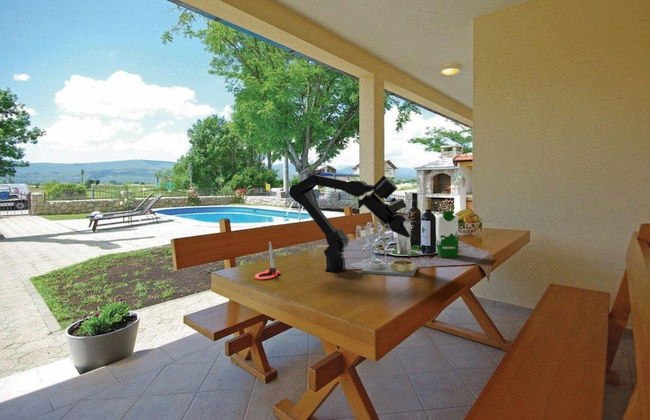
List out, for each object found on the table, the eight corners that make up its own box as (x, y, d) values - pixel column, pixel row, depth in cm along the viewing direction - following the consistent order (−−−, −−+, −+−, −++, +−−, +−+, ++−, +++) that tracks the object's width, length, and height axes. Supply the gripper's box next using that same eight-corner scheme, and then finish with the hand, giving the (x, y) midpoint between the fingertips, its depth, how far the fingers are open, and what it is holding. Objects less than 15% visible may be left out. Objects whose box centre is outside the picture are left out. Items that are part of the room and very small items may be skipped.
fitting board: (361, 273, 122) (360, 270, 122) (368, 265, 132) (368, 263, 132) (413, 276, 115) (412, 273, 115) (416, 268, 125) (416, 266, 125)
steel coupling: (395, 254, 121) (395, 219, 120) (398, 251, 126) (397, 217, 125) (409, 254, 119) (409, 219, 118) (411, 252, 124) (411, 218, 123)
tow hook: (268, 282, 117) (283, 274, 125) (264, 247, 115) (280, 241, 123) (250, 280, 121) (265, 272, 129) (246, 246, 119) (262, 240, 127)
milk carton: (439, 258, 140) (438, 211, 138) (435, 253, 149) (434, 210, 147) (460, 257, 139) (460, 211, 137) (455, 253, 148) (454, 209, 146)
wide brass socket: (389, 271, 119) (389, 264, 119) (393, 265, 127) (393, 259, 127) (412, 272, 116) (412, 265, 116) (415, 267, 124) (415, 260, 123)
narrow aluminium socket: (367, 268, 124) (367, 263, 124) (371, 265, 129) (370, 260, 129) (381, 269, 122) (381, 264, 121) (385, 266, 127) (384, 261, 127)
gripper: (399, 192, 111) (431, 222, 112) (386, 190, 130) (414, 217, 131) (376, 215, 111) (409, 246, 113) (367, 211, 130) (395, 237, 131)
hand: (407, 235), depth 122 cm, fingers closed on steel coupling, 5 cm apart
